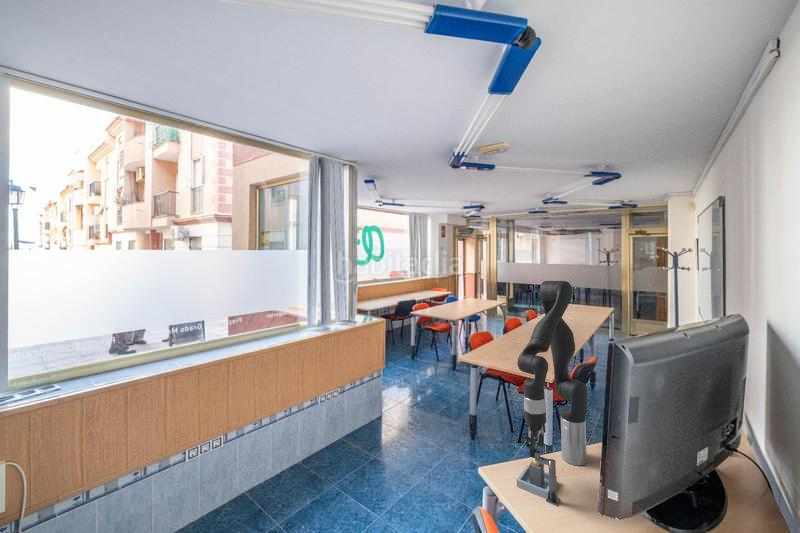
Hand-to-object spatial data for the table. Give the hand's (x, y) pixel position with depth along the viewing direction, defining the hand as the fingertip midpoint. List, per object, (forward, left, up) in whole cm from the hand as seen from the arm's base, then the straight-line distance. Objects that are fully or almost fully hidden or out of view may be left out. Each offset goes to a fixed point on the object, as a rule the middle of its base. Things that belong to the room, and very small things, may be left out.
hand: (537, 451), depth 122 cm
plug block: (0, 0, -12) cm, 12 cm away
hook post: (+5, +5, -12) cm, 14 cm away
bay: (0, 0, -12) cm, 12 cm away
